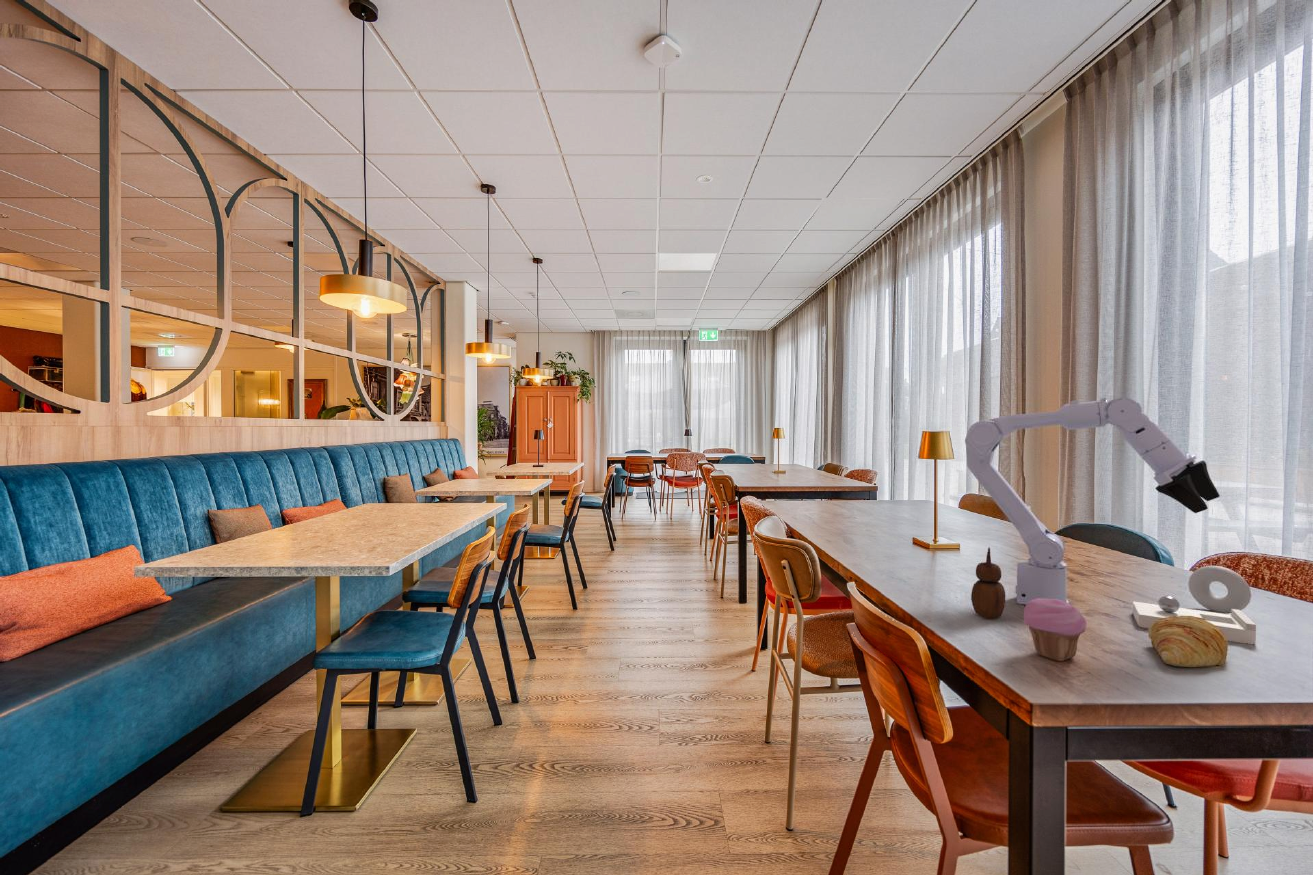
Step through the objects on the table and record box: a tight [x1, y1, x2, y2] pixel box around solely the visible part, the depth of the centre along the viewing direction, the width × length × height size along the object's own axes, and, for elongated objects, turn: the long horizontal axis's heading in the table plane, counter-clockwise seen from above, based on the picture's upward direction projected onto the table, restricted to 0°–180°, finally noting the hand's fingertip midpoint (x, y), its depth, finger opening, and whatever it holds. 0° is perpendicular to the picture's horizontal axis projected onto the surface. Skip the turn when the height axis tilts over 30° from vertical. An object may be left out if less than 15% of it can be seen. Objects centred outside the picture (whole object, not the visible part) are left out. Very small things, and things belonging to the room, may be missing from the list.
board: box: [1132, 601, 1257, 646], centre depth 108 cm, size 16×10×4 cm, turn 54°
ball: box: [1157, 595, 1181, 613], centre depth 110 cm, size 3×3×3 cm
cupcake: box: [1023, 598, 1087, 662], centre depth 95 cm, size 9×9×10 cm
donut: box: [1187, 565, 1252, 615], centre depth 117 cm, size 10×4×10 cm, turn 20°
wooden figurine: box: [970, 546, 1006, 620], centre depth 115 cm, size 7×6×15 cm
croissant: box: [1147, 616, 1229, 668], centre depth 95 cm, size 21×10×8 cm, turn 125°
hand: (1207, 504), depth 107 cm, fingers open, 7 cm apart
